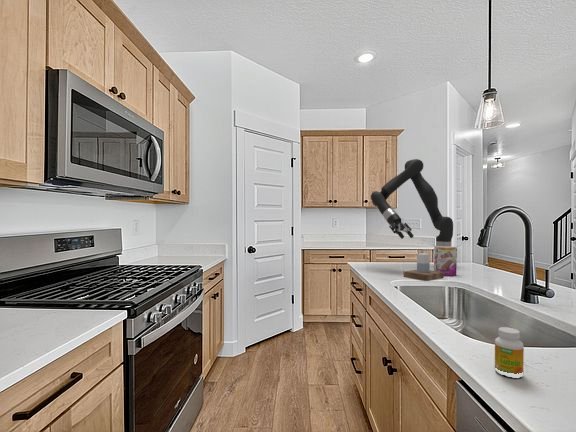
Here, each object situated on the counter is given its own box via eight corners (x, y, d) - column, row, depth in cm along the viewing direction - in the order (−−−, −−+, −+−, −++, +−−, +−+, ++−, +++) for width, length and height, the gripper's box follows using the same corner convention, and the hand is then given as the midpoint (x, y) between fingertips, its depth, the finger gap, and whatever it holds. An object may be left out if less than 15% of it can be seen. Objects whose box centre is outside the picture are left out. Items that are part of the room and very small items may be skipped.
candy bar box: (436, 275, 197) (436, 247, 196) (433, 274, 202) (433, 246, 201) (457, 276, 195) (457, 247, 195) (453, 274, 200) (453, 246, 200)
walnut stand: (421, 274, 202) (421, 268, 202) (443, 277, 191) (443, 272, 191) (403, 276, 193) (403, 271, 193) (425, 280, 182) (425, 275, 182)
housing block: (422, 270, 195) (422, 253, 195) (429, 272, 192) (429, 253, 192) (416, 271, 193) (416, 253, 193) (424, 272, 189) (424, 254, 189)
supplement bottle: (497, 377, 75) (497, 332, 75) (492, 366, 80) (492, 324, 80) (526, 381, 73) (526, 335, 73) (519, 370, 78) (520, 327, 78)
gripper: (387, 213, 204) (403, 233, 194) (403, 213, 212) (419, 232, 202) (380, 221, 208) (396, 242, 199) (396, 221, 216) (411, 241, 207)
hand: (407, 237), depth 200 cm, fingers open, 8 cm apart
